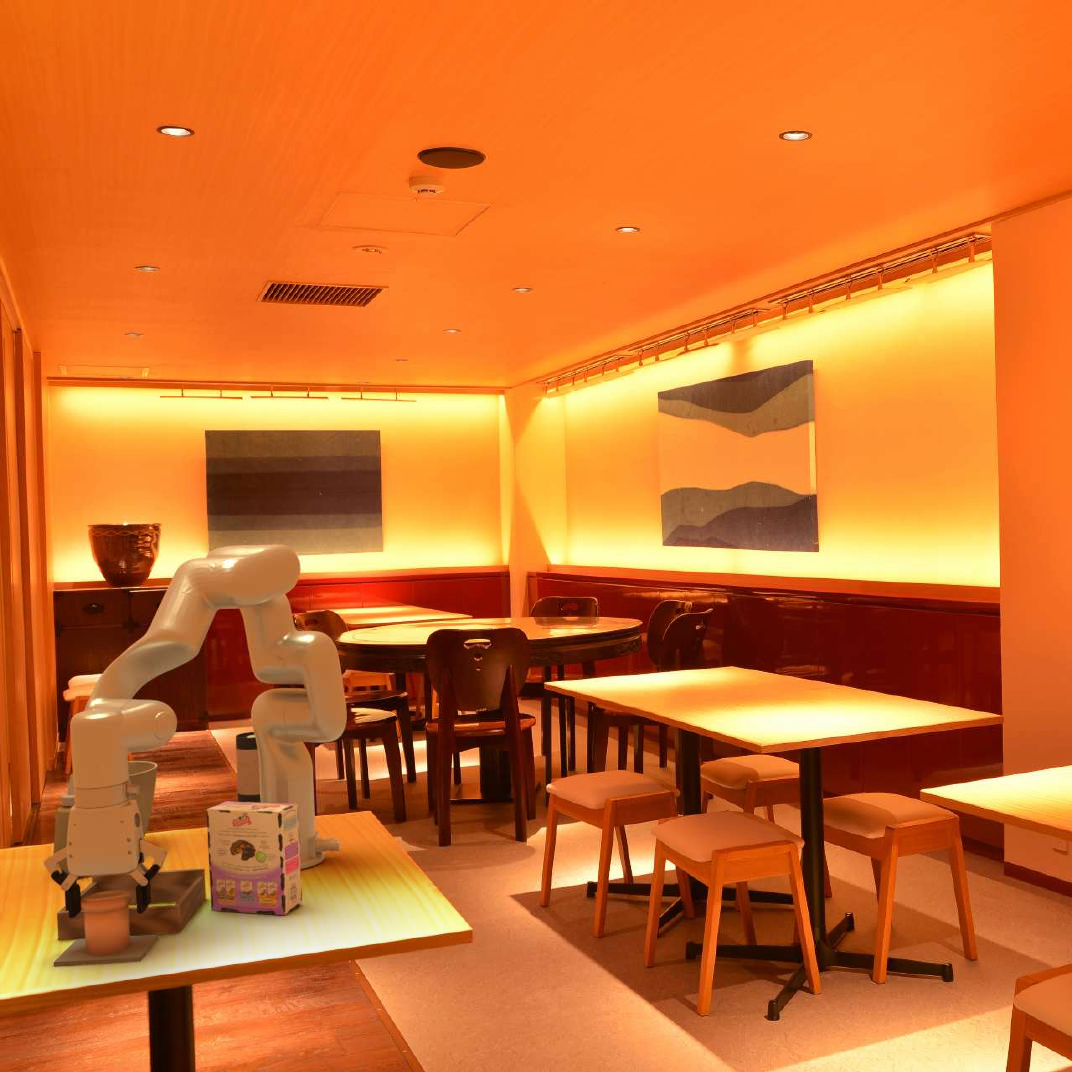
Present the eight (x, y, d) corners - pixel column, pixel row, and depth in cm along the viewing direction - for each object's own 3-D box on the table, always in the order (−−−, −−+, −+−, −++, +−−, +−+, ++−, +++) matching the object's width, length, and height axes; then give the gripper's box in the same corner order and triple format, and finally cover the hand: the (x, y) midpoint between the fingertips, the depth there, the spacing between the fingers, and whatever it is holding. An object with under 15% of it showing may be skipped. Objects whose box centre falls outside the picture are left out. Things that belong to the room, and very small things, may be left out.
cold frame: (205, 898, 185) (204, 868, 185) (179, 932, 169) (178, 899, 169) (95, 905, 184) (93, 874, 184) (58, 939, 168) (56, 906, 168)
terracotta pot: (139, 938, 166) (137, 889, 166) (124, 955, 159) (122, 904, 159) (92, 940, 165) (90, 891, 165) (75, 957, 159) (73, 907, 159)
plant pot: (78, 847, 221) (75, 766, 221) (158, 837, 226) (154, 758, 226) (78, 867, 207) (74, 780, 207) (163, 855, 213) (159, 771, 213)
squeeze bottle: (110, 866, 206) (106, 769, 206) (88, 880, 198) (84, 778, 198) (68, 867, 207) (64, 769, 207) (44, 880, 199) (40, 779, 199)
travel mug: (242, 829, 229) (238, 732, 229) (280, 827, 230) (276, 730, 230) (236, 839, 222) (231, 738, 222) (275, 837, 222) (271, 736, 222)
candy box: (304, 904, 180) (299, 802, 180) (284, 917, 174) (280, 811, 174) (230, 899, 184) (226, 799, 184) (209, 910, 179) (204, 807, 179)
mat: (158, 938, 167) (158, 934, 167) (140, 961, 158) (140, 957, 158) (76, 943, 166) (76, 939, 166) (53, 966, 157) (53, 962, 157)
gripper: (170, 785, 166) (176, 899, 167) (51, 792, 166) (58, 907, 166) (155, 798, 159) (162, 918, 159) (31, 805, 158) (38, 926, 158)
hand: (109, 912), depth 163 cm, fingers open, 9 cm apart
